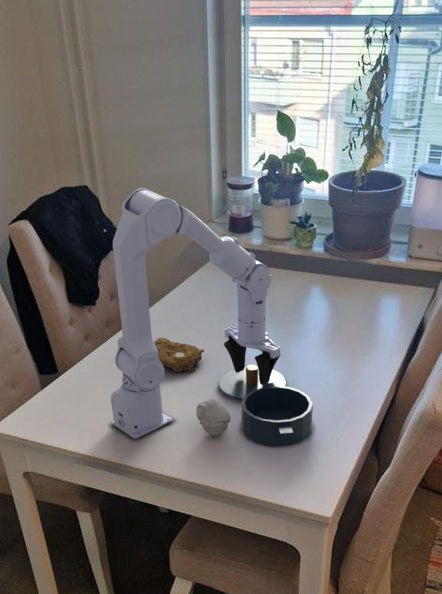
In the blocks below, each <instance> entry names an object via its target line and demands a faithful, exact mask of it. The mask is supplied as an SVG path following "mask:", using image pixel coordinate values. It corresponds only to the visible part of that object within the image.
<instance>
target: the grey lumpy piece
mask: <svg viewBox="0 0 442 594" xmlns="http://www.w3.org/2000/svg"><path fill="white" fill-rule="evenodd" d="M195 411H196V412H195V414H196V418H197V420H198V421H199V425H200V426H201V427H202V429H203V431H204V432H205V433H206V434H208V435H209V436H214V437H218V436H221V435H223V434H224V433H225V432H226V431H227V429H228V427H229V423H231V420H232V416H231V414H230V412H229V411H228V410H227V408H226V406H224V405H223V404H222V403H220V402H219V401H217V400H216V399H215V398H213V397H211V398H208V399H207V400H203V401H201V402H199V403H197V405H196V410H195Z"/></svg>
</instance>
